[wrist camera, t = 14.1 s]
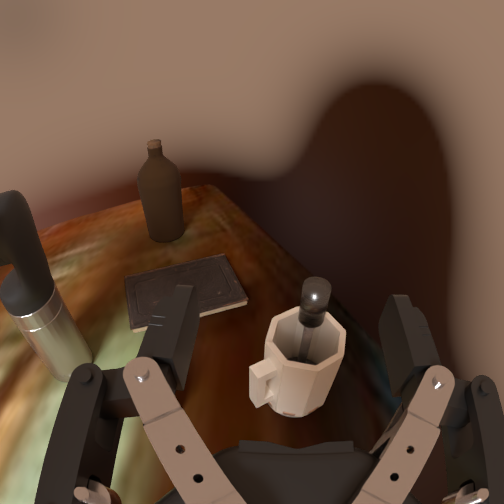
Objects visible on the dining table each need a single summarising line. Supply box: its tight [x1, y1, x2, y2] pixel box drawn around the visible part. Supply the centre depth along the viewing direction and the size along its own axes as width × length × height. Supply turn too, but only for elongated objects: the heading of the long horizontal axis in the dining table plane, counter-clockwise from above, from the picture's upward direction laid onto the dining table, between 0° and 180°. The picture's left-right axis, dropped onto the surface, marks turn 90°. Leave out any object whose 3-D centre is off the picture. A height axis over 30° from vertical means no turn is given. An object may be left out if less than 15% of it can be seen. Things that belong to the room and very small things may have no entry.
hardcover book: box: [124, 253, 249, 333], centre depth 64 cm, size 16×23×2 cm
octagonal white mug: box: [249, 306, 346, 417], centre depth 41 cm, size 10×12×14 cm
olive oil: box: [137, 139, 184, 242], centre depth 74 cm, size 11×11×25 cm
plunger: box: [287, 277, 331, 365], centre depth 38 cm, size 7×7×19 cm
